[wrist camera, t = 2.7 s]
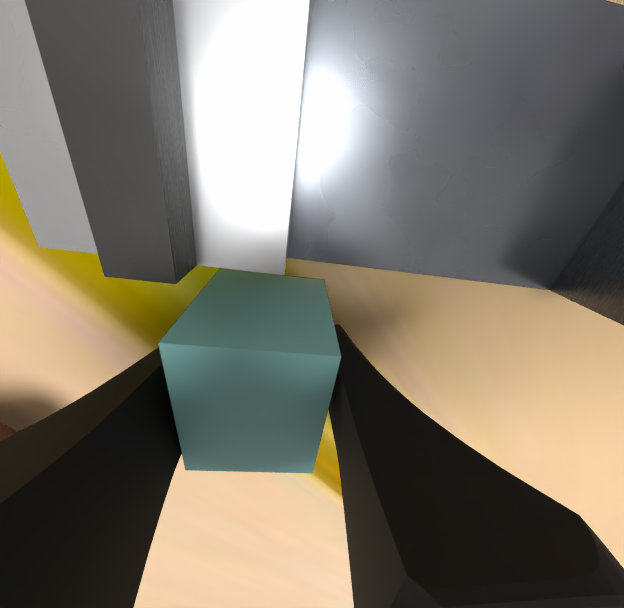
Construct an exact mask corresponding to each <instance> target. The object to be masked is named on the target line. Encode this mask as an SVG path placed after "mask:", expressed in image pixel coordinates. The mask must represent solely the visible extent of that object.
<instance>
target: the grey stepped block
mask: <svg viewBox="0 0 624 608" xmlns="http://www.w3.org/2000/svg"><path fill="white" fill-rule="evenodd" d="M311 9H312V0H0V152H1V154H2V157H3V159H4V162H5V164H6V167H7V169H8V172H9V174H10V176H11V179H12V181H13V184H14V186H15V189H16V191H17V194H18V196H19V199H20V201H21V204H22V206H23V209H24V211H25V214H26V216H27V218H28V221H29V223H30V226H31V228H32V231H33V233H34V236H35V238H36V241H37V243H38V246H39V247H43V248H52V249H60V250H69V251H78V252H86V253H95V254H98V255H99V259H100V262H101V266H102V269H103V272H104V276H105V277H115V278H124V279H134V280H143V281H152V282H162V283H171V284H177V283H178V282H179V281H180V280H181V279H182V278H183V277H184V276H185V275H187V274H188V273H189V272H190V271H191V270H192V269H193V268H194V267H195V266H196V265H199V266H208V267H217V268H225V269H234V270H243V271H251V272H260V273H269V274H277V275H284V272H285V266H286V259H287V253H288V246H289V237H290V227H291V216H292V206H293V196H294V185H295V175H296V164H297V154H298V144H299V133H300V123H301V113H302V102H303V92H304V81H305V71H306V61H307V50H308V40H309V29H310V19H311Z"/></svg>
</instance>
